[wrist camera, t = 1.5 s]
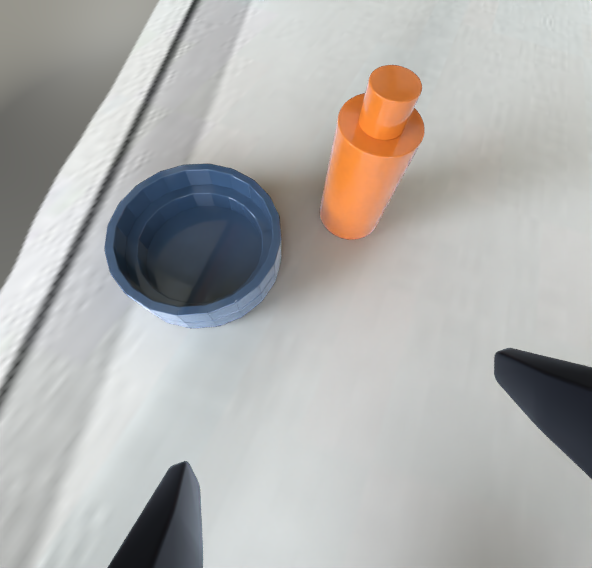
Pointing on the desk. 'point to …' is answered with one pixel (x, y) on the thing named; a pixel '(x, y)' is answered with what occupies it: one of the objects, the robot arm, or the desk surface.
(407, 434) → the desk surface
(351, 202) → the orange bottle
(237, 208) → the bowl
